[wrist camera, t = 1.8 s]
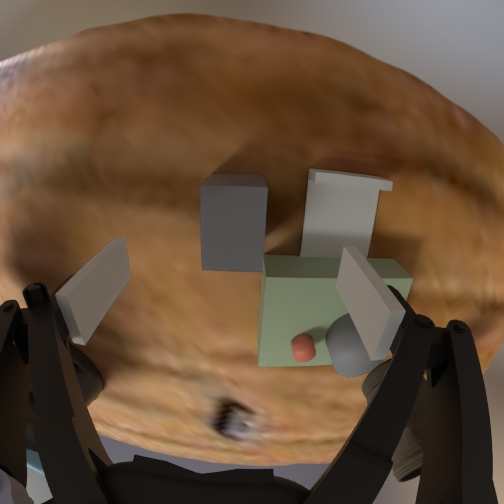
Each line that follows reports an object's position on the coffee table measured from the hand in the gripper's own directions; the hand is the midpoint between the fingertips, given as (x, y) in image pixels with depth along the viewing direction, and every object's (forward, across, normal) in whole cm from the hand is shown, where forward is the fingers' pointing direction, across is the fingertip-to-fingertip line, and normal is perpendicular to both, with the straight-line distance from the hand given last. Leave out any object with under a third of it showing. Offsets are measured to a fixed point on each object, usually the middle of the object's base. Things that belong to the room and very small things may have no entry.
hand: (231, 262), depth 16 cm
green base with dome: (+13, +11, -6) cm, 18 cm away
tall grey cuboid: (+13, 0, 0) cm, 13 cm away
